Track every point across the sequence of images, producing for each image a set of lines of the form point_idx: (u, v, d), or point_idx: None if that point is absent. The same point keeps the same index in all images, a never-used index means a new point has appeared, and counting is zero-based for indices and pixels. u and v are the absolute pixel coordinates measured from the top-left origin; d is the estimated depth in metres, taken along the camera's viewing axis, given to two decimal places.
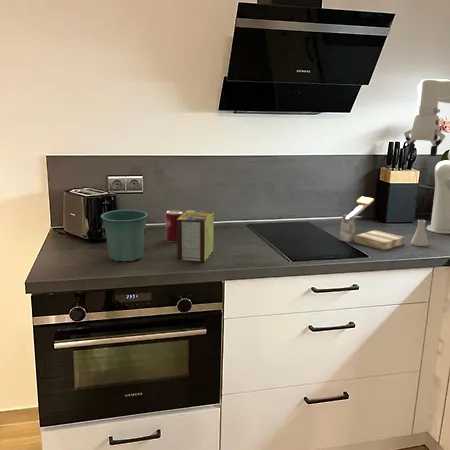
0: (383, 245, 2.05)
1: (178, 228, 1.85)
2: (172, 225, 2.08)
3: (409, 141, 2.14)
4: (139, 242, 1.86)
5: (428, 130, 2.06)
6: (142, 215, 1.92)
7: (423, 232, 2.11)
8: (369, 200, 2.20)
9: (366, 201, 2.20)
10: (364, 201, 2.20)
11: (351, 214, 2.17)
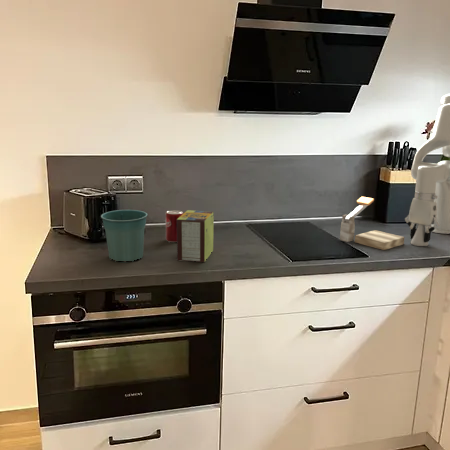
0: (383, 245, 2.05)
1: (178, 228, 1.85)
2: (172, 225, 2.08)
3: (411, 226, 2.14)
4: (139, 242, 1.86)
5: (426, 216, 2.07)
6: (142, 215, 1.92)
7: (423, 232, 2.11)
8: (369, 200, 2.20)
9: (366, 201, 2.20)
10: (364, 201, 2.20)
11: (351, 214, 2.17)
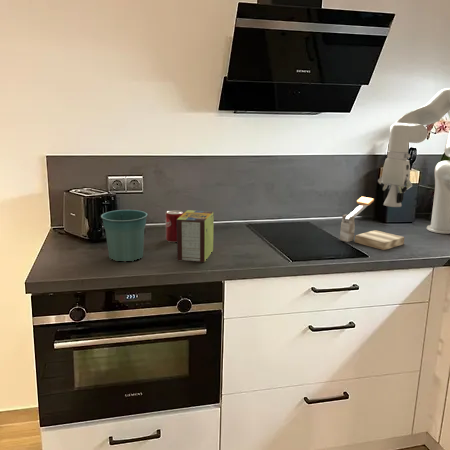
0: (383, 245, 2.05)
1: (178, 228, 1.85)
2: (172, 225, 2.08)
3: (384, 188, 2.11)
4: (139, 242, 1.86)
5: (399, 175, 2.04)
6: (142, 215, 1.92)
7: (396, 193, 2.07)
8: (369, 200, 2.20)
9: (366, 201, 2.20)
10: (364, 201, 2.20)
11: (351, 214, 2.17)
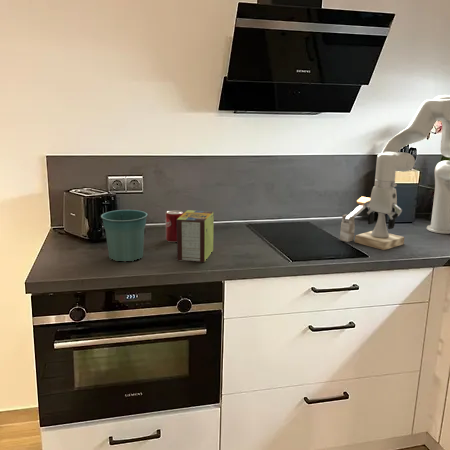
0: (383, 245, 2.05)
1: (178, 228, 1.85)
2: (172, 225, 2.08)
3: (368, 212, 2.15)
4: (139, 242, 1.86)
5: (386, 204, 2.07)
6: (142, 215, 1.92)
7: (383, 224, 2.11)
8: (369, 200, 2.20)
9: (366, 201, 2.20)
10: (364, 201, 2.20)
11: (351, 214, 2.17)
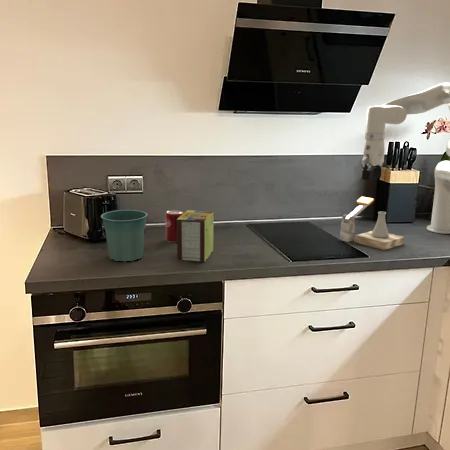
0: (383, 245, 2.05)
1: (178, 228, 1.85)
2: (172, 225, 2.08)
3: (376, 165, 2.21)
4: (139, 242, 1.86)
5: None
6: (142, 215, 1.92)
7: (383, 224, 2.11)
8: (369, 200, 2.20)
9: (366, 201, 2.20)
10: (364, 201, 2.20)
11: (351, 214, 2.17)
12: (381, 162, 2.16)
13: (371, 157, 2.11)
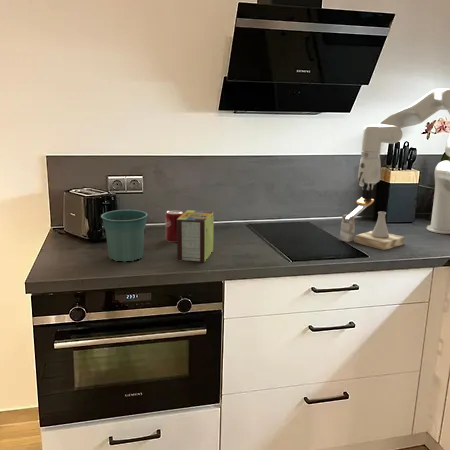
0: (383, 245, 2.05)
1: (178, 228, 1.85)
2: (172, 225, 2.08)
3: None
4: (139, 242, 1.86)
5: None
6: (142, 215, 1.92)
7: (383, 224, 2.11)
8: (369, 200, 2.20)
9: (366, 201, 2.20)
10: (364, 201, 2.20)
11: (351, 214, 2.17)
12: (377, 180, 2.19)
13: (365, 175, 2.15)
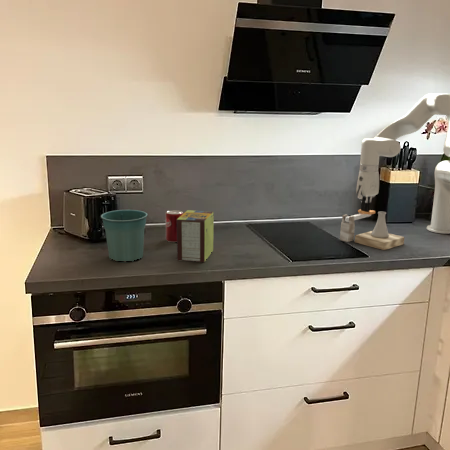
0: (383, 245, 2.05)
1: (178, 228, 1.85)
2: (172, 225, 2.08)
3: None
4: (139, 242, 1.86)
5: None
6: (142, 215, 1.92)
7: (383, 224, 2.11)
8: (371, 211, 2.22)
9: (368, 211, 2.22)
10: None
11: None
12: (375, 193, 2.21)
13: (363, 188, 2.16)
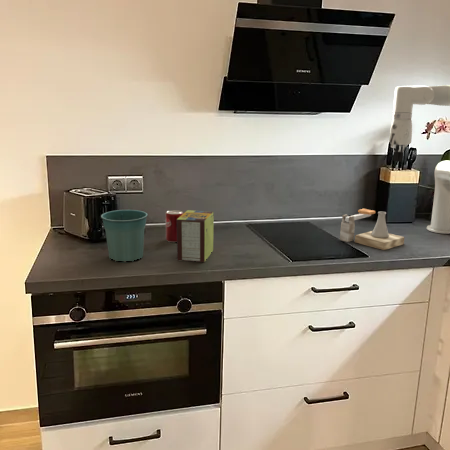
0: (383, 245, 2.05)
1: (178, 228, 1.85)
2: (172, 225, 2.08)
3: None
4: (139, 242, 1.86)
5: None
6: (142, 215, 1.92)
7: (383, 224, 2.11)
8: (371, 211, 2.22)
9: (368, 211, 2.22)
10: (366, 211, 2.22)
11: None
12: (408, 142, 2.18)
13: (397, 136, 2.13)
